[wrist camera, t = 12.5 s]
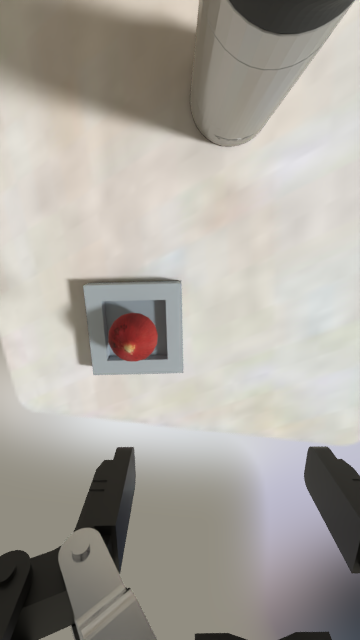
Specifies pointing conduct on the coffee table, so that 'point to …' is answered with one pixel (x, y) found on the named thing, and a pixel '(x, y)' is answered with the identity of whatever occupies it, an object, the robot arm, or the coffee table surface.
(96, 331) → the base plate
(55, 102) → the coffee table surface
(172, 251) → the coffee table surface
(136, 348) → the onion
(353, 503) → the robot arm
